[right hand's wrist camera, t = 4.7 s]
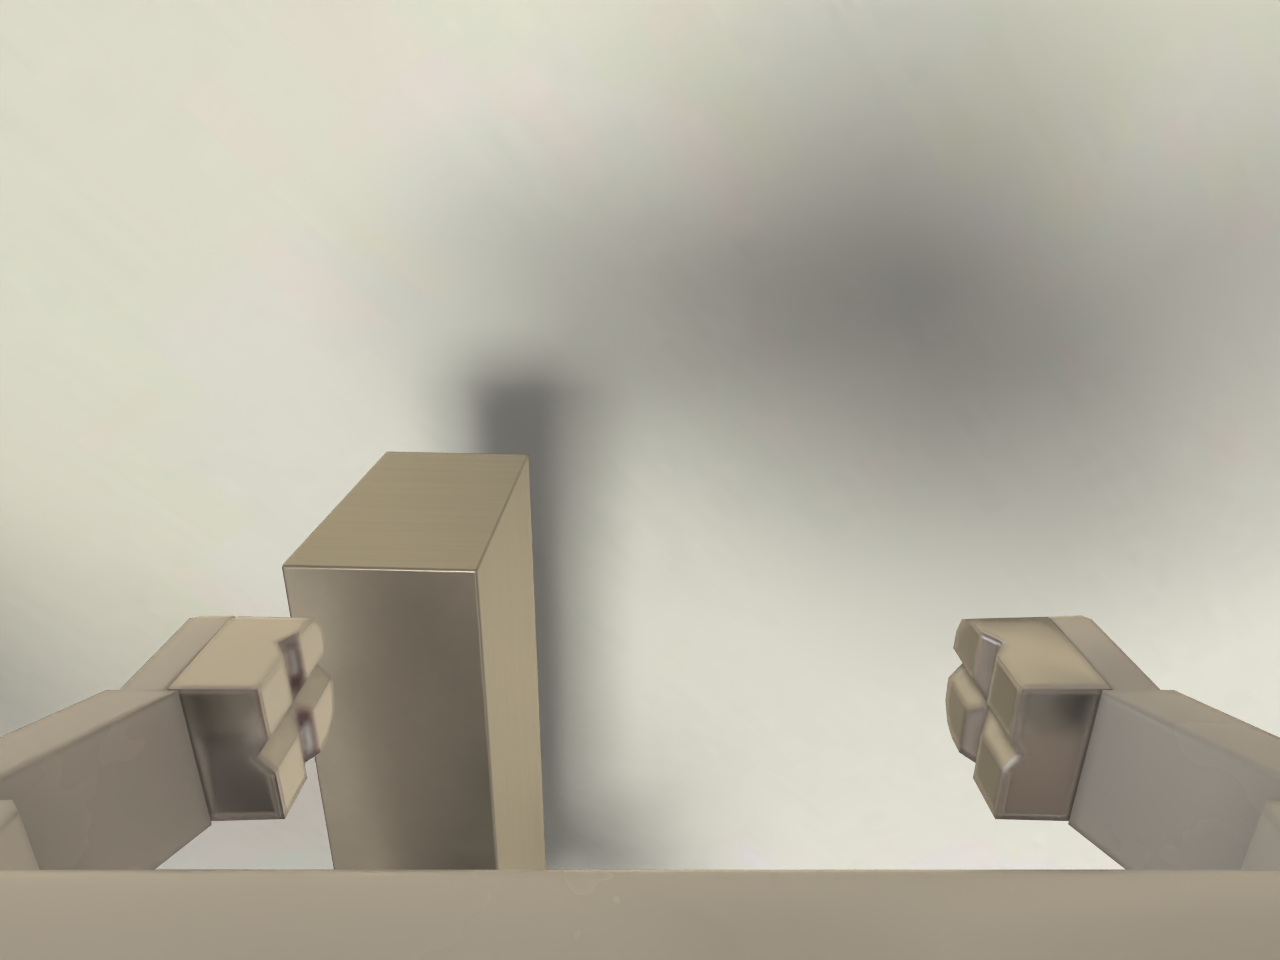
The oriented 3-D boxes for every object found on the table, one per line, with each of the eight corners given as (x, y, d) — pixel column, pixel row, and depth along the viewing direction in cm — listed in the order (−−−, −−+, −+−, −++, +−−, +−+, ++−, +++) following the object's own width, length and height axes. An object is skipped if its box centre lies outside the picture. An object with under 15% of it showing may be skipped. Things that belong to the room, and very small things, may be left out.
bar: (386, 451, 27) (280, 565, 20) (529, 453, 27) (477, 570, 19) (449, 1023, 38) (396, 1239, 30) (552, 1026, 37) (524, 1244, 30)
